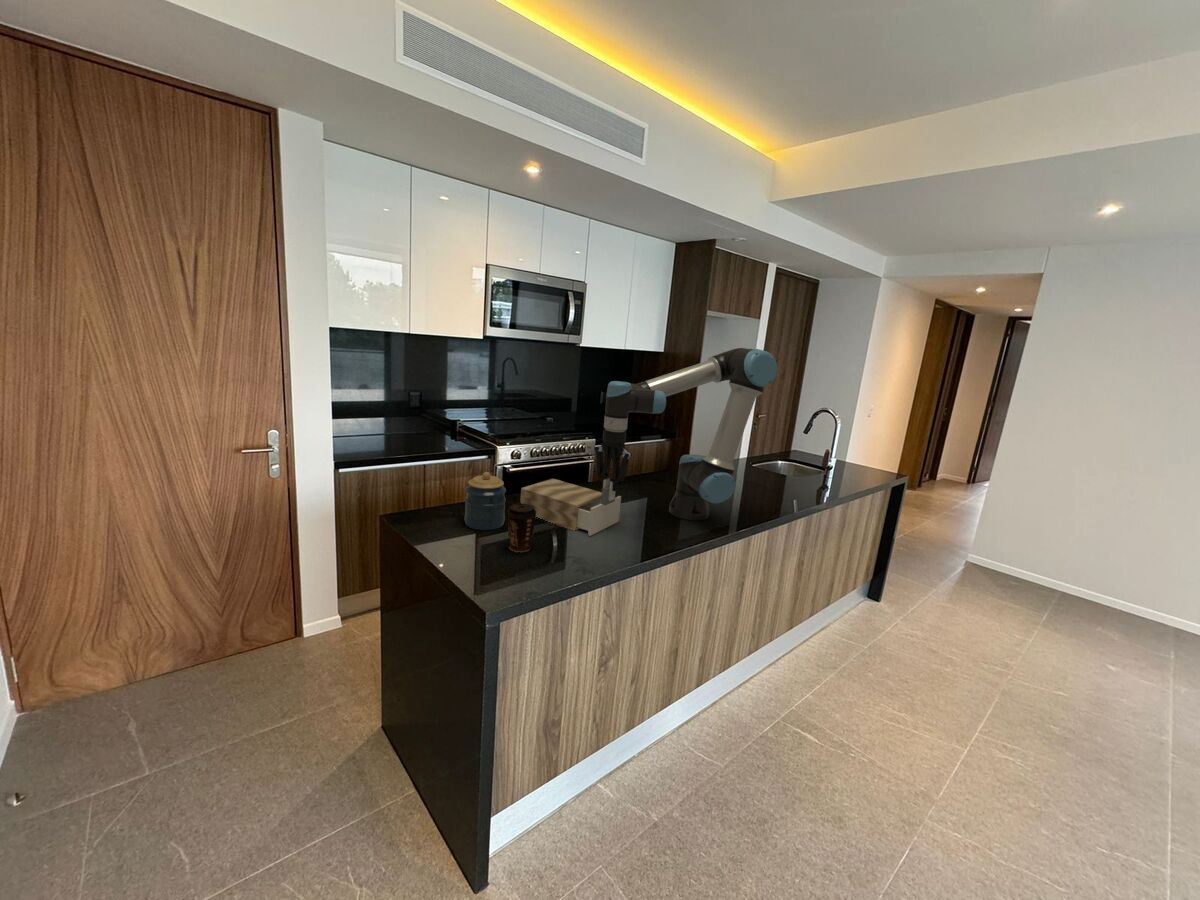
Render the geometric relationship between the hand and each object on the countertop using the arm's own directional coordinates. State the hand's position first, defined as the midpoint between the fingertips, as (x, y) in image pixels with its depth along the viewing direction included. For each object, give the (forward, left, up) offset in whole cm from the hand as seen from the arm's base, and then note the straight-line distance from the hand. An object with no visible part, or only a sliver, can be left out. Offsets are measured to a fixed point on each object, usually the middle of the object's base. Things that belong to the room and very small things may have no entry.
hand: (608, 498), depth 167 cm
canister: (+31, +25, -11) cm, 42 cm away
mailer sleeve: (+18, 0, -11) cm, 21 cm away
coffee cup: (+10, +31, -11) cm, 35 cm away
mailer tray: (+11, 0, -11) cm, 16 cm away
